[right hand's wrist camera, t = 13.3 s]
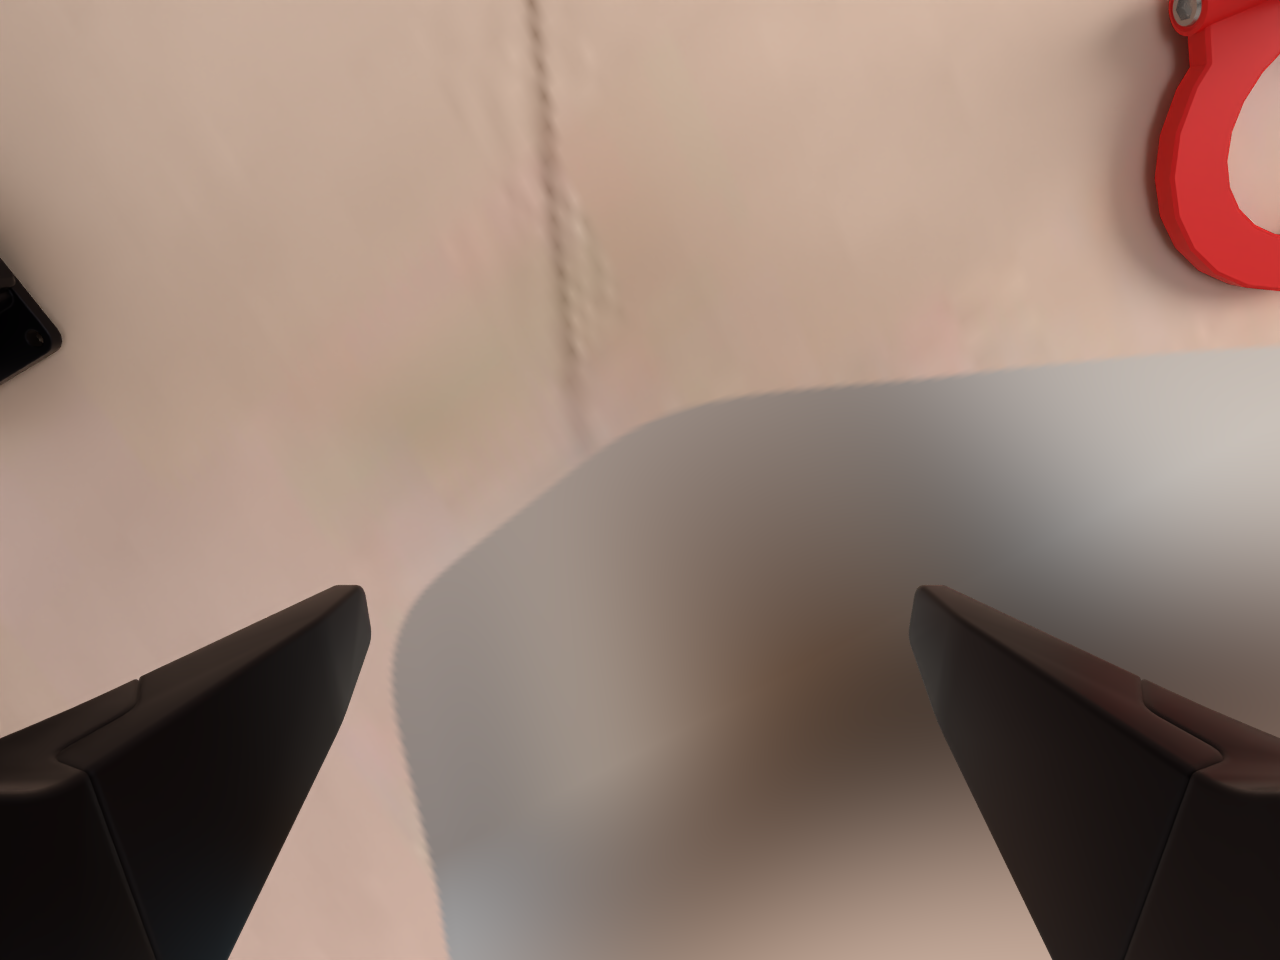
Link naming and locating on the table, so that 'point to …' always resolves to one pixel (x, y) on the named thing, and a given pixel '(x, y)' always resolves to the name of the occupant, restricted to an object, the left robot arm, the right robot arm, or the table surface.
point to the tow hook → (1216, 140)
